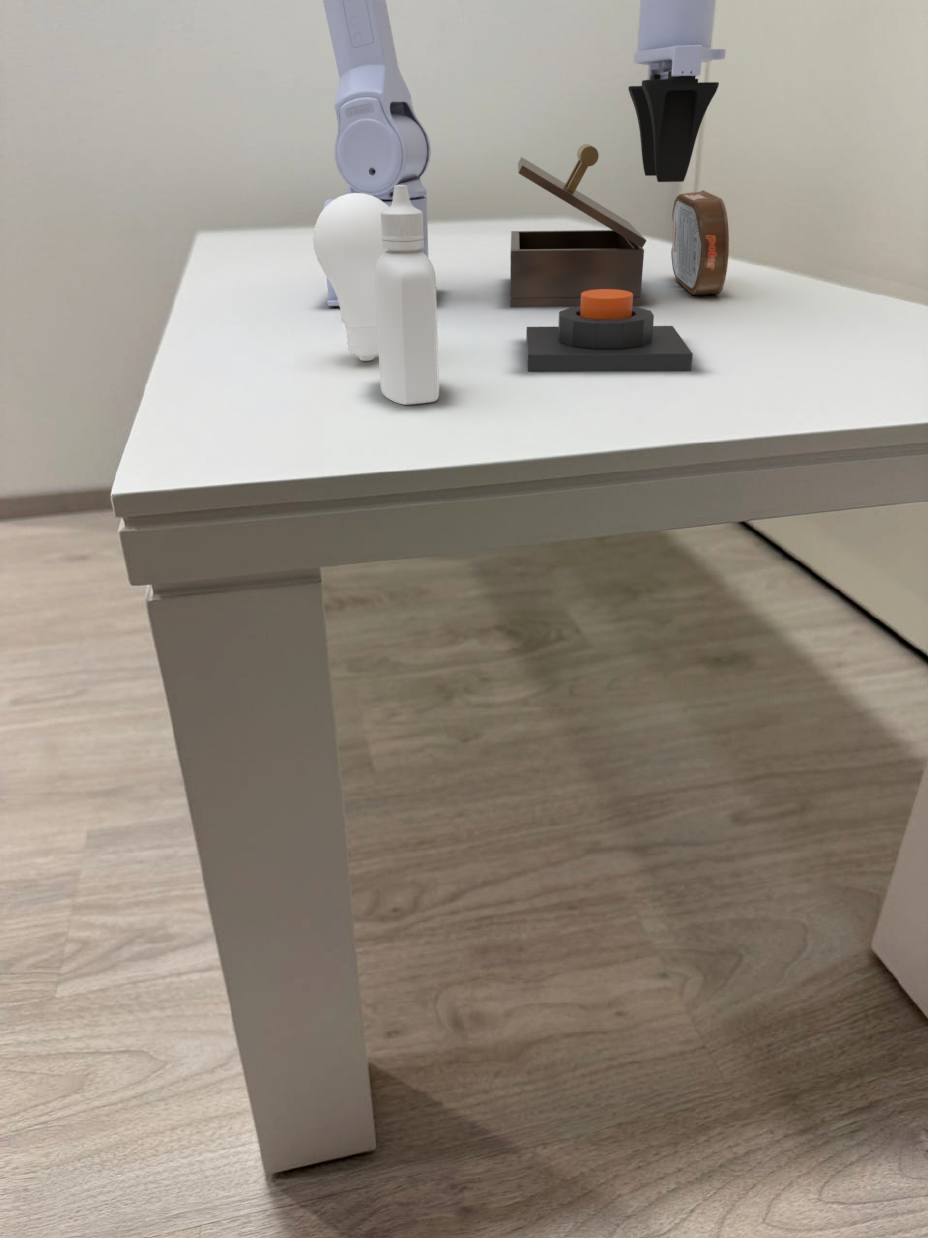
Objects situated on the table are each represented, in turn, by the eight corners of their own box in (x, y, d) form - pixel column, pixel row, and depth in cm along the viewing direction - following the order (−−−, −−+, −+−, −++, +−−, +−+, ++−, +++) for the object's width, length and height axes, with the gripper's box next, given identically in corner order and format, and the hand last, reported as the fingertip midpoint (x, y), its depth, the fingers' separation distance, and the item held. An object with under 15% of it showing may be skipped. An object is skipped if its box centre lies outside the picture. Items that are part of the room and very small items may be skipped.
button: (581, 324, 64) (582, 298, 63) (578, 314, 67) (579, 288, 66) (634, 324, 64) (635, 297, 63) (628, 313, 67) (630, 288, 66)
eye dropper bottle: (452, 384, 61) (448, 181, 55) (433, 408, 56) (426, 189, 50) (388, 381, 61) (377, 181, 56) (363, 405, 56) (349, 189, 51)
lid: (518, 172, 78) (546, 117, 76) (517, 163, 91) (542, 115, 89) (642, 247, 80) (673, 195, 78) (624, 228, 93) (651, 183, 91)
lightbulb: (342, 375, 63) (327, 198, 58) (312, 357, 68) (296, 192, 62) (423, 363, 65) (416, 193, 60) (389, 347, 70) (380, 187, 65)
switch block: (527, 372, 63) (528, 326, 61) (526, 342, 71) (526, 301, 69) (691, 371, 62) (695, 325, 61) (671, 341, 70) (675, 300, 69)
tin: (726, 301, 84) (738, 200, 80) (691, 302, 84) (701, 200, 80) (693, 275, 97) (702, 186, 93) (663, 275, 97) (671, 187, 93)
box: (510, 307, 83) (510, 250, 81) (510, 280, 96) (511, 230, 94) (640, 306, 83) (644, 249, 80) (623, 279, 95) (626, 229, 93)
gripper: (753, -30, 65) (729, 183, 71) (712, -8, 78) (696, 172, 84) (651, -28, 65) (637, 185, 72) (628, -6, 78) (617, 173, 84)
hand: (663, 178), depth 78 cm, fingers open, 7 cm apart
